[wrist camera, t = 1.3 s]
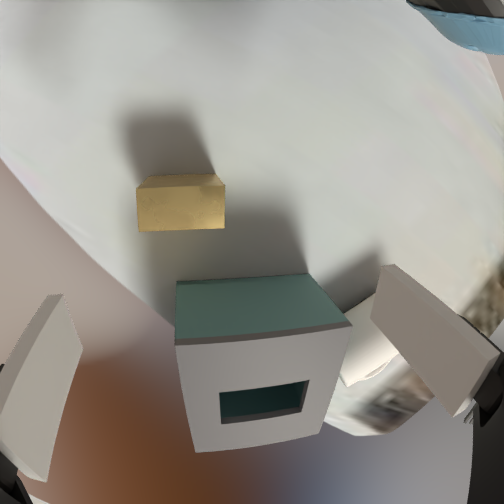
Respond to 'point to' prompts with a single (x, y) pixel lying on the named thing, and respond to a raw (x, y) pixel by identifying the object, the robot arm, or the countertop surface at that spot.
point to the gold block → (181, 202)
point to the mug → (365, 346)
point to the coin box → (257, 358)
